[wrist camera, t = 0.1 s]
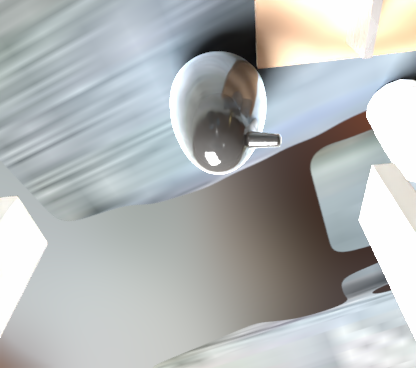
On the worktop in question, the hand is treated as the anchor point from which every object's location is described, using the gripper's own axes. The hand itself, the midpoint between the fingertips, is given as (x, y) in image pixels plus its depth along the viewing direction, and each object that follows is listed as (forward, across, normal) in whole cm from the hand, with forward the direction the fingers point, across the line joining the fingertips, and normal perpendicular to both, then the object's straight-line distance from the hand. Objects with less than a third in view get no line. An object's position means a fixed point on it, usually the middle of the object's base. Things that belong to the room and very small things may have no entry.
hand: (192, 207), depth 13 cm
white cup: (+28, +22, -12) cm, 37 cm away
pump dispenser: (+28, +1, -7) cm, 29 cm away
